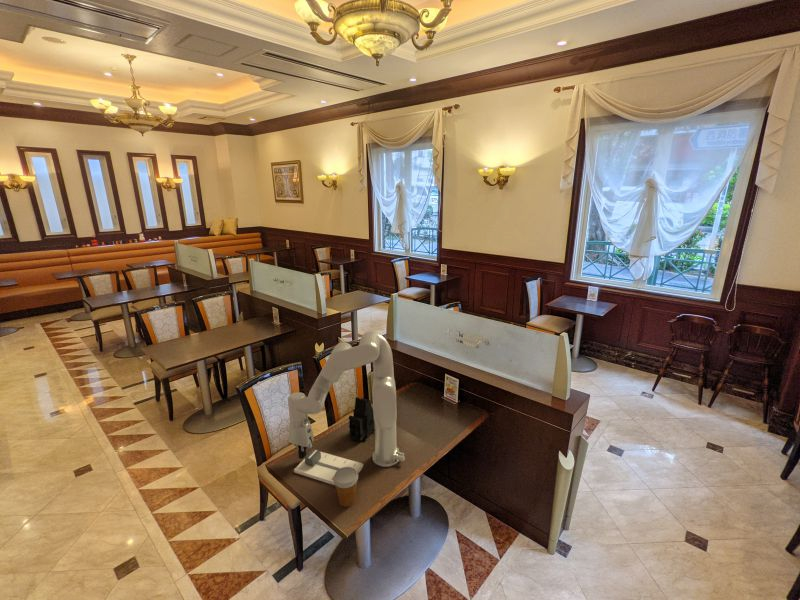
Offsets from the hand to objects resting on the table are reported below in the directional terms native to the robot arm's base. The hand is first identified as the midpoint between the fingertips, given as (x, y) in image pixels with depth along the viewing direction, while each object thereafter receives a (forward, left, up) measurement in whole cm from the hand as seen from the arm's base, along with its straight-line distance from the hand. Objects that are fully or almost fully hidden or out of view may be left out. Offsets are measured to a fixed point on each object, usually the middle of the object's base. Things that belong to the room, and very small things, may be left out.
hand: (302, 456), depth 165 cm
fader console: (-14, 0, -3) cm, 14 cm away
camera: (-16, -26, -3) cm, 30 cm away
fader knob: (-6, 0, -1) cm, 6 cm away
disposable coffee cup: (-30, +12, -3) cm, 32 cm away
